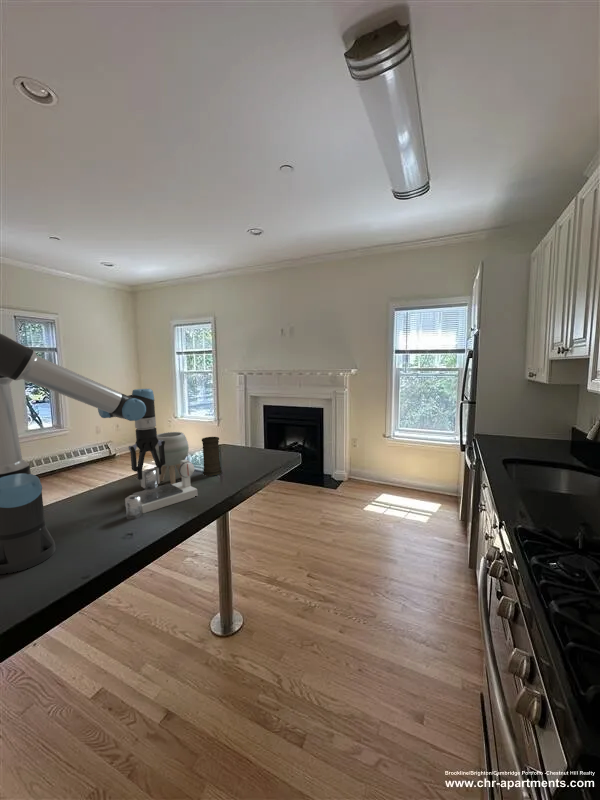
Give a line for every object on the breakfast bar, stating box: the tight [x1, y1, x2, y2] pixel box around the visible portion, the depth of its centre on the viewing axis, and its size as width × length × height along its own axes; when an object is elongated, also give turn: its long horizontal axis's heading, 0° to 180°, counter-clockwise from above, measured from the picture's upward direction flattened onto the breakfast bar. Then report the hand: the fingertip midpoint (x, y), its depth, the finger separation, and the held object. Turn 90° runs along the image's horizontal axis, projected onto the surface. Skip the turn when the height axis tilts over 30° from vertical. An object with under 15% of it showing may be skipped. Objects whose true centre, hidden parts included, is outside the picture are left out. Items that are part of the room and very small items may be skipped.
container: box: [201, 436, 222, 477], centre depth 169 cm, size 9×9×18 cm
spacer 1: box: [124, 494, 143, 520], centre depth 123 cm, size 5×5×7 cm
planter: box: [151, 431, 189, 484], centre depth 158 cm, size 16×16×22 cm
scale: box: [130, 459, 198, 514], centre depth 138 cm, size 24×14×14 cm, turn 135°
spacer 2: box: [143, 468, 159, 490], centre depth 136 cm, size 5×5×7 cm
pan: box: [132, 482, 183, 504], centre depth 136 cm, size 15×12×1 cm
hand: (150, 484), depth 136 cm, fingers closed on spacer 2, 5 cm apart
